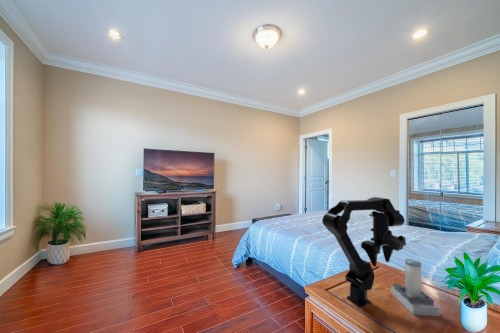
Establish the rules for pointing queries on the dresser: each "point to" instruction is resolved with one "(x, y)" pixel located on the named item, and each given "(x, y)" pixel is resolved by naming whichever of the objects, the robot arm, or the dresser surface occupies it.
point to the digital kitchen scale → (415, 302)
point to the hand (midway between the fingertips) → (380, 263)
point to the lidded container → (413, 278)
